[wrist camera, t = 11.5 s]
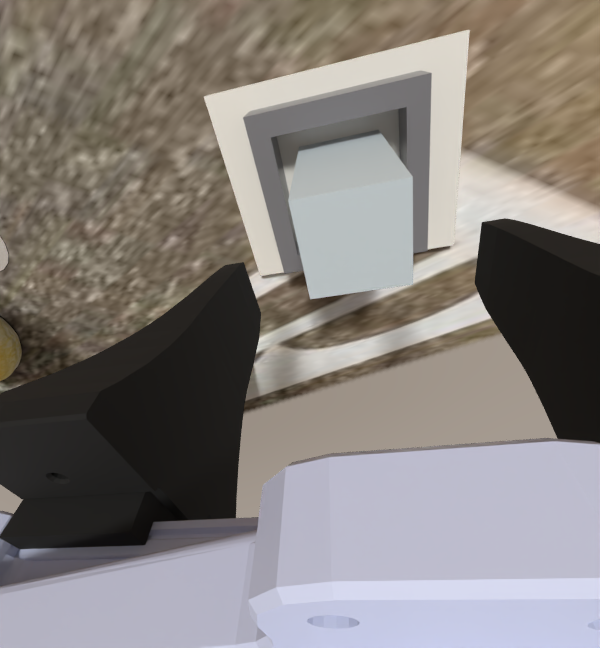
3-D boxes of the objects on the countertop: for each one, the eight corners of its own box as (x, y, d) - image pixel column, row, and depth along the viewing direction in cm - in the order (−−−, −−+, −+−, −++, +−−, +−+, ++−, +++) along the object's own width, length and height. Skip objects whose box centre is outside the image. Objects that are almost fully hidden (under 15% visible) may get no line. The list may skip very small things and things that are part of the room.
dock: (465, 30, 15) (487, 27, 13) (451, 241, 21) (465, 261, 19) (206, 95, 17) (191, 101, 15) (261, 272, 23) (256, 292, 21)
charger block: (378, 129, 17) (412, 176, 11) (383, 208, 20) (413, 284, 13) (299, 146, 18) (288, 200, 11) (312, 221, 20) (310, 299, 14)
